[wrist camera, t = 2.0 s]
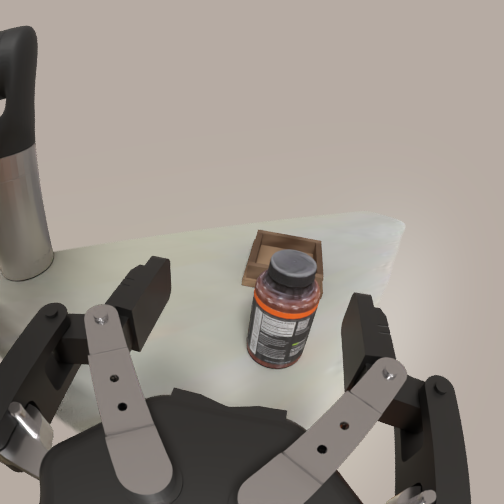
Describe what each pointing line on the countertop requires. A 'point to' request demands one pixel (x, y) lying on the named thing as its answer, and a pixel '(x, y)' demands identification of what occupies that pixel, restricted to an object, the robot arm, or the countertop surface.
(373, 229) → the countertop surface
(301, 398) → the countertop surface
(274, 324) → the supplement bottle
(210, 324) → the countertop surface
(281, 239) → the square wooden tray
